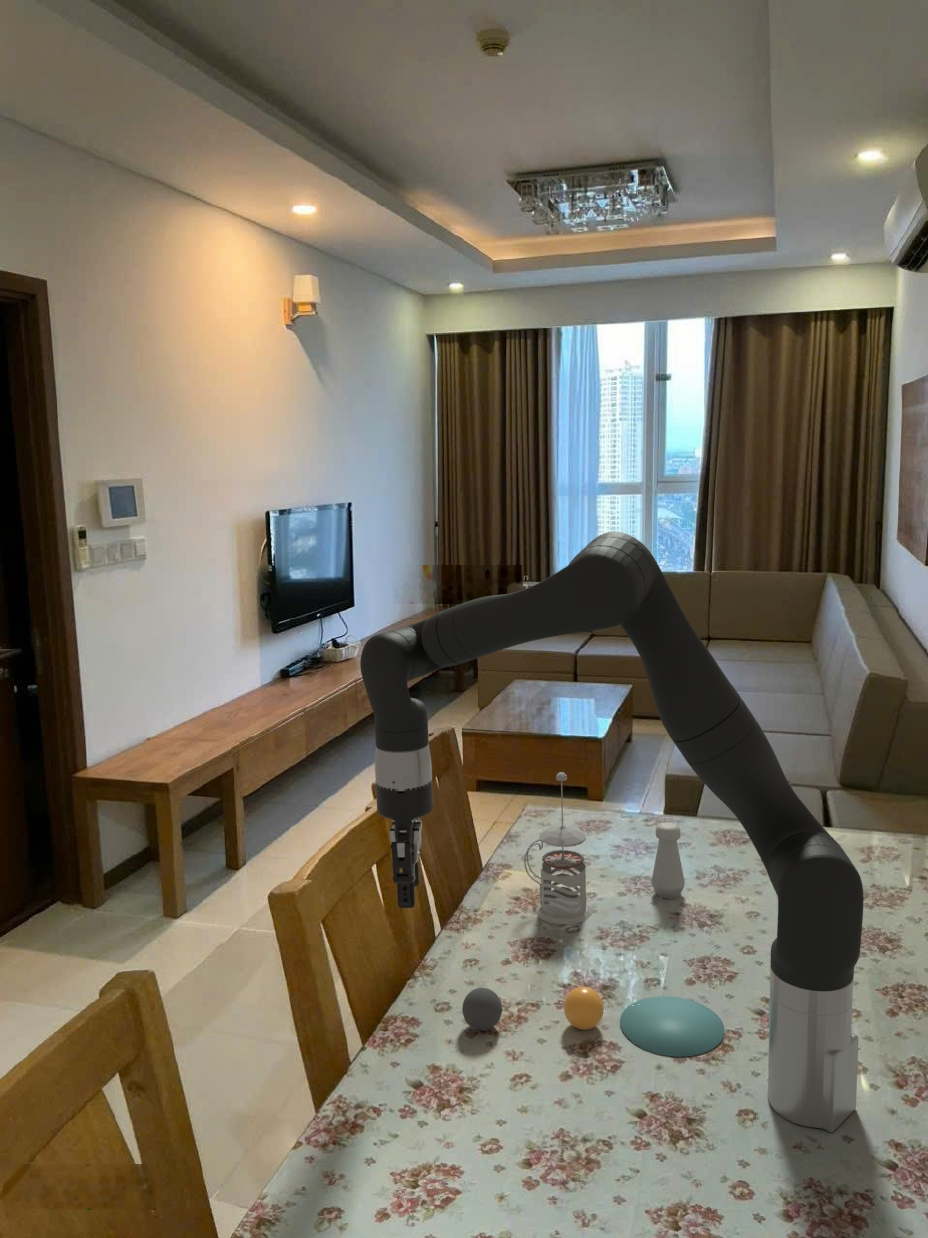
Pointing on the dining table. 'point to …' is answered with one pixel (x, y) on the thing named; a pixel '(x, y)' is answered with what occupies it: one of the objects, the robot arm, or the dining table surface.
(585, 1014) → the orange ball
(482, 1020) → the charcoal ball
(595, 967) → the dining table surface
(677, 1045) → the teal mark
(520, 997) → the dining table surface
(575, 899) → the french press
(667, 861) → the salt shaker
